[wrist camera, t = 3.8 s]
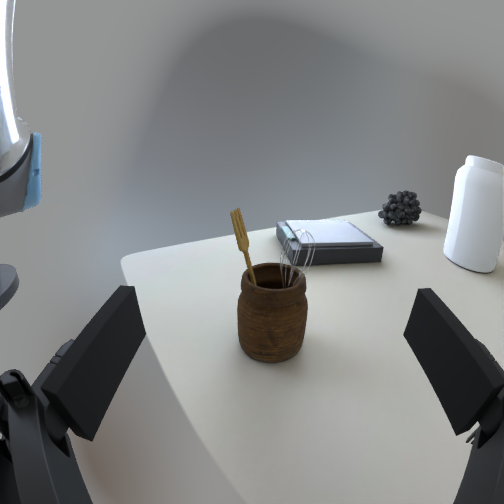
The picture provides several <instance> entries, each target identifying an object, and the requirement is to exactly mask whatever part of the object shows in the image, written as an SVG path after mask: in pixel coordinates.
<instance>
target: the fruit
mask: <svg viewBox="0 0 504 504" xmlns="http://www.w3.org/2000/svg"><path fill="white" fill-rule="evenodd" d="M416 197H417V195H416V193H414V192H409V191H403V192H397V195H392V194H391V195H389V198H388V199H389V202H388V203H387V204H383V211H380V212H379V213H378V216H379V217H380V218H384V223H385V224H390V223H391V222H392V221H394V222H395V224H397V225H399V224H400V223H403V224H404V223H407V224H411V223H412V221H417V220H418V219H419V214H420V213H421V208H420V207H418V206H419V205H420V203H419V201H418V200H416Z"/></svg>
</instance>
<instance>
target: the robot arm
mask: <svg viewBox="0 0 504 504" xmlns="http://www.w3.org/2000/svg"><path fill="white" fill-rule="evenodd" d="M14 6H15V0H0V217H3V216H6V215H10V214H13V213H17V212H23V211H24V210H25V209H28V208H31V207H34V206H36V205H38V203H39V202H40V200H41V197H42V180H41V147H42V139H41V138H42V137H41V134H40V133H35V132H34V133H31V134H30V129H29V126H28V124H27V123H26V122H25V121H24V120H23V119H21V118H18V117H17V111H16V103H15V96H14V85H13V70H12V30H13V16H14ZM145 335H146V332H145V328H144V324H143V321H142V317H141V313H140V309H139V305H138V300H137V296H136V292H135V287H134V286H120V287H119V288H118V289H117V290H116V291H115V292H114V293H113V295H112V296H111V297H110V298H109V299H108V300H107V301H106V303H105V304H104V305H103V306H102V307H101V309H100V310H99V311H98V312H97V313H96V315H95V316H94V317H93V318H92V319H91V321H90V322H89V323H88V324H87V325H86V327H85V328H84V329H83V330H82V332H81V333H80V334H79V335H78V337H77V338H76V339H75V340H72V339H71V340H69V341H68V342H66V343H65V344H64V345H62V346H61V347H60V349H59V350H58V351H57V352H56V354H55V356H53V358H52V359H51V360H50V363H48V364H47V365H46V367H45V368H44V370H43V371H42V372H41V374H40V375H39V376H38V378H37V379H36V380H35V382H34V383H33V385H32V386H30V384H29V383H28V381H27V380H26V378H25V377H24V375H23V374H22V373H21V372H20V371H19V370H16V369H14V370H8V371H6V372H4V373H3V374H2V375H1V376H0V433H2V439H0V504H93V503H92V501H91V498H90V496H89V494H88V491H87V489H86V486H85V483H84V481H83V479H82V476H81V473H80V470H79V467H78V464H77V462H76V458H75V455H74V452H73V448H72V445H71V441H70V438H69V436H68V434H67V433H66V432H67V430H68V428H69V427H70V429H71V430H72V431H73V432H74V433H75V435H77V436H79V437H82V438H84V439H87V440H89V441H93V439H94V436H95V434H96V432H97V430H98V428H99V426H100V424H101V421H102V419H103V417H104V415H105V413H106V411H107V409H108V406H109V405H110V402H111V401H112V398H113V396H114V394H115V392H116V390H117V388H118V386H119V384H120V383H121V380H122V379H123V377H124V375H125V372H126V371H127V369H128V367H129V365H130V363H131V361H132V359H133V357H134V355H135V353H136V352H137V350H138V348H139V346H140V344H141V342H142V341H143V339H144V337H145ZM403 335H404V337H405V339H406V340H407V342H408V344H409V345H410V347H411V349H412V350H413V352H414V354H415V356H416V357H417V359H418V361H419V363H420V365H421V366H422V368H423V370H424V372H425V374H426V375H427V377H428V379H429V381H430V383H431V385H432V387H433V389H434V391H435V393H436V395H437V396H438V398H439V400H440V402H441V404H442V407H443V409H444V411H445V413H446V415H447V417H448V419H449V421H450V423H451V425H452V428H453V430H454V432H455V434H456V436H457V435H459V434H462V433H464V432H466V431H468V430H470V429H471V428H472V427H473V425H474V424H475V423H476V422H477V421H478V422H479V424H480V426H479V427H478V428H477V429H476V430H475V431H474V432H473V433H472V434H471V435H470V437H469V438H468V439H467V441H466V443H468V442H469V441H470V440H471V439H472V438H473V437H474V440H473V441H472V442H471V444H473V445H472V449H471V453H470V457H469V460H468V464H467V467H466V470H465V473H464V476H463V479H462V482H461V485H460V488H459V490H458V493H457V496H456V498H455V501H454V503H453V504H504V371H503V369H502V368H501V366H500V365H499V364H498V362H497V361H495V358H494V357H493V356H492V354H491V355H490V352H489V351H488V349H487V348H486V347H485V345H483V344H482V343H481V342H479V341H478V340H477V339H474V337H473V336H472V335H471V334H470V332H469V331H468V330H467V329H466V328H465V326H464V325H463V324H462V323H461V322H460V321H459V319H458V318H457V317H456V316H455V315H454V314H453V312H452V311H451V310H450V309H449V308H448V307H447V306H446V305H445V303H444V302H443V301H442V300H441V299H440V298H439V297H438V296H437V295H436V294H435V293H434V291H433V290H432V289H431V288H424V289H418V292H417V295H416V298H415V302H414V305H413V308H412V311H411V314H410V317H409V320H408V323H407V326H406V329H405V332H404V334H403Z"/></svg>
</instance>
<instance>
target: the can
mask: <svg viewBox="0 0 504 504" xmlns="http://www.w3.org/2000/svg"><path fill="white" fill-rule="evenodd" d="M503 236H504V166H503V165H502V164H500V163H498V162H495V161H492V160H489V159H485V158H481V157H477V156H471V155H470V156H467V158H466V163H465V165H463V166H462V167H461V168H460V169H458V171H457V174H456V177H455V185H454V194H453V201H452V208H451V214H450V219H449V225H448V230H447V235H446V240H445V244H444V254H445V255H446V257H448V258H449V259H450V260H451V261H453V262H454V263H456V264H458V265H459V266H462V267H464V268H466V269H469V270H472V271H477V272H483V273H484V272H491V271H493V270H494V268H495V266H496V263H497V259H498V256H499V252H500V248H501V244H502V240H503Z"/></svg>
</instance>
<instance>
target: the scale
mask: <svg viewBox="0 0 504 504" xmlns="http://www.w3.org/2000/svg"><path fill="white" fill-rule="evenodd" d="M297 229H302V230H305V231H308V233H309V232H310V233H309V234H308V233H307V232H306V233H307V235H308V237H307V235H306V233H305V232H303V231H301V230H297ZM294 230H297V231H296V232H298V231H301V232H298V233H296V232H295V231H294ZM292 231H293V232H292ZM290 232H291V233H290ZM294 232H295V233H296V234H295V233H294ZM302 232H303V234H304V237H303V234H302ZM289 233H290V234H289ZM293 233H294V234H295V235H294V236H293V237H292V235H293ZM288 234H289V235H288ZM310 234H311V235H312V237H313V238H312V237H311V235H310ZM276 235H277V237H278V239H279V241H280V243H281V245H282V247H283V245H284V247H283V249H284V251H285V249H286V252H285V253H286V255H287V252H288V255H287V257H288V259H289V261H290V263H291V265H293V266H303V265H305V262H306V259H307V258H308V260H307V262H306V265H325V264H346V263H365V262H381V258H382V253H383V247H382V246H381V245H380V244H378V243H377V242H376V241H375V240H373V239H372V238H371V237H369V236H368V235H367V234H365V233H364V232H363V231H361V230H360V229H359V228H357V227H356V226H354V225H353V224H352V223H350V222H347V221H345V220H292V221H291V220H290V221H289V220H286V222H277V229H276ZM287 235H288V236H287ZM301 235H302V237H301ZM286 237H287V238H286ZM291 237H292V240H291V239H290V238H291ZM300 238H301V240H300ZM302 238H303V241H302ZM308 238H309V240H308ZM285 239H286V240H285ZM289 239H290V241H291V243H290V241H289ZM313 239H314V240H313ZM284 241H285V243H284ZM288 241H289V242H288ZM299 241H300V243H299ZM314 241H315V245H314ZM301 242H302V244H301ZM287 243H288V245H287ZM309 243H310V248H311V250H310V248H309ZM298 244H299V246H298ZM311 244H312V246H311ZM289 245H290V247H289ZM286 246H287V248H286ZM300 246H301V248H300ZM297 247H298V249H297ZM314 247H315V251H314ZM288 248H289V250H288ZM299 249H300V251H299ZM296 250H297V253H296ZM308 251H309V252H310V254H308ZM313 252H314V255H313ZM298 253H299V255H298ZM295 254H296V256H295ZM307 255H309V257H307ZM297 256H298V258H297ZM312 256H313V258H312ZM294 258H295V260H294ZM296 260H297V262H296ZM311 260H312V262H311ZM293 261H294V263H293ZM295 263H296V265H295ZM310 263H311V264H310Z"/></svg>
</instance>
